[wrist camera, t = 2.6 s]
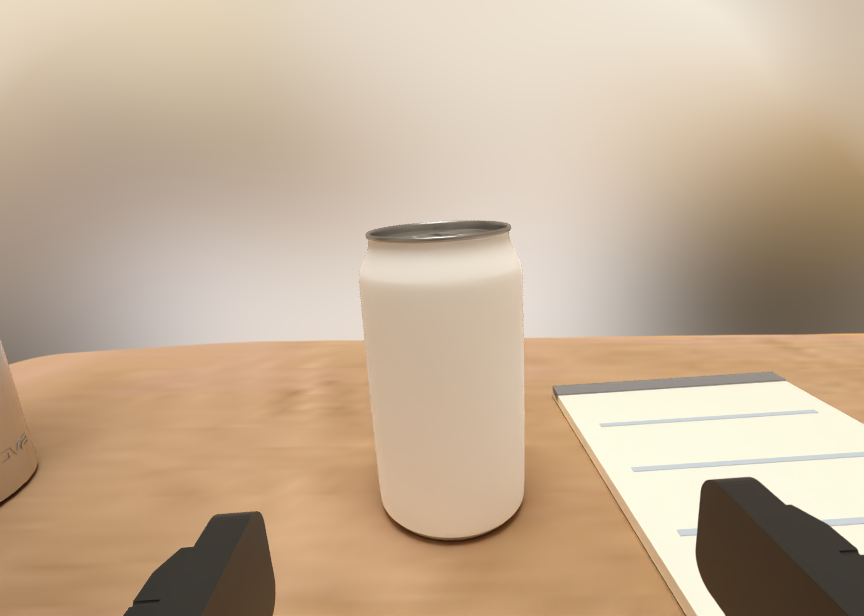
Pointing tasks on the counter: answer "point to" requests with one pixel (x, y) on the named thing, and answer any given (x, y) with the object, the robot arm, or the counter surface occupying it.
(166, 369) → the counter surface
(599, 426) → the notepad
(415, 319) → the can
